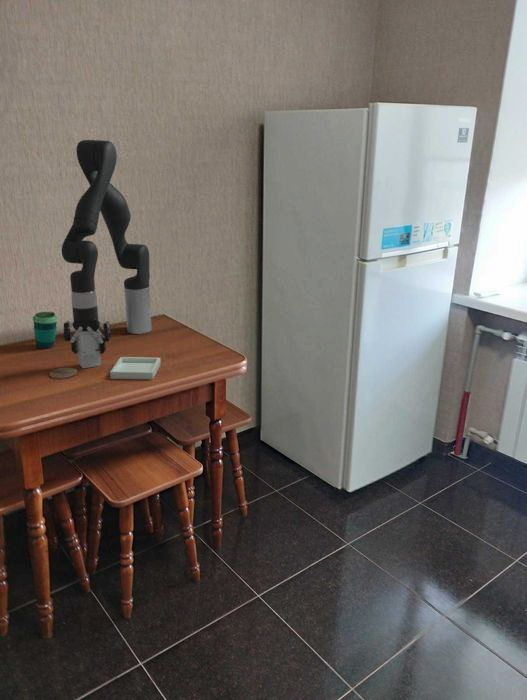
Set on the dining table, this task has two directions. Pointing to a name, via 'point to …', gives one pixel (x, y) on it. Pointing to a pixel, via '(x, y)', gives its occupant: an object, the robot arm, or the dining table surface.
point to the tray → (135, 368)
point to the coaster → (63, 373)
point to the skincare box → (88, 350)
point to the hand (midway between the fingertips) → (89, 353)
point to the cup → (45, 329)
